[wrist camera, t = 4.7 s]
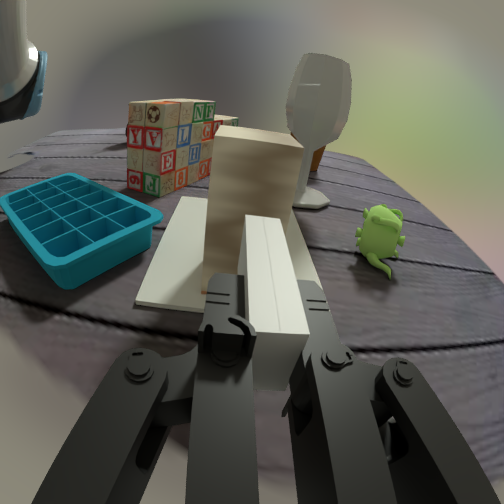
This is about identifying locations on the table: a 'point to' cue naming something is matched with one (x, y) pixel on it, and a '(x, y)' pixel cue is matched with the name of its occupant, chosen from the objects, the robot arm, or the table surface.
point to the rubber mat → (200, 260)
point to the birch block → (246, 190)
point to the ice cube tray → (78, 226)
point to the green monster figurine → (380, 235)
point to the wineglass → (317, 114)
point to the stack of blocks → (170, 143)
